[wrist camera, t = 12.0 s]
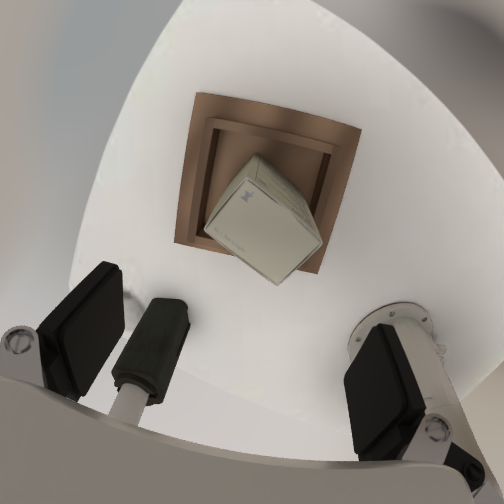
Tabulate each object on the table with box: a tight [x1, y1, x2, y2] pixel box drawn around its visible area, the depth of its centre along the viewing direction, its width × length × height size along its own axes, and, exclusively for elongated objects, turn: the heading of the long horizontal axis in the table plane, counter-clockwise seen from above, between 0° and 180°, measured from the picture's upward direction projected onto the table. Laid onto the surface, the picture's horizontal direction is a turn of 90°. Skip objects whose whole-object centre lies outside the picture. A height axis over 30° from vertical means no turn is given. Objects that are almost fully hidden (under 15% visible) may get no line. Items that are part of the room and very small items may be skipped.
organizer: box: [174, 92, 361, 274], centre depth 27 cm, size 16×16×4 cm
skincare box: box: [204, 153, 323, 286], centre depth 23 cm, size 6×4×12 cm
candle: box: [108, 298, 190, 426], centre depth 26 cm, size 5×5×25 cm
